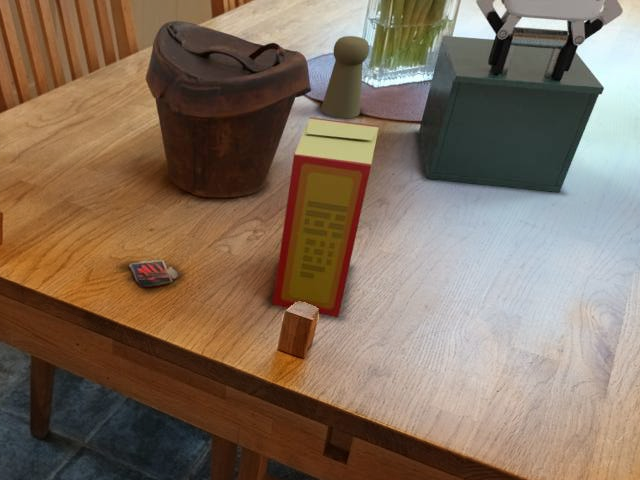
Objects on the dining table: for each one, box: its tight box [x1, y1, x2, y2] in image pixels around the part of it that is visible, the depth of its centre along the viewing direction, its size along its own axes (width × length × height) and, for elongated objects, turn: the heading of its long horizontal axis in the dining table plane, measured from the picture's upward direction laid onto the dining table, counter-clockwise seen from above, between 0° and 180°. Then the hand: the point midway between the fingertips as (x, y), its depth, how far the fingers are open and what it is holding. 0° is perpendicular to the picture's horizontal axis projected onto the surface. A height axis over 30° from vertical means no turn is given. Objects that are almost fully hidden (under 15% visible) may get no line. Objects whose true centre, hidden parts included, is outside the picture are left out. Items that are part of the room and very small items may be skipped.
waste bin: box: [418, 41, 600, 193], centre depth 96 cm, size 17×17×13 cm
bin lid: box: [441, 26, 605, 95], centre depth 90 cm, size 17×17×6 cm
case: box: [145, 20, 312, 199], centre depth 88 cm, size 18×20×18 cm
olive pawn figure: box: [320, 35, 370, 119], centre depth 110 cm, size 6×6×11 cm
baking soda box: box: [272, 116, 380, 317], centre depth 69 cm, size 10×6×16 cm
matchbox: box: [126, 259, 179, 287], centre depth 75 cm, size 5×5×1 cm
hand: (525, 72), depth 86 cm, fingers open, 6 cm apart
